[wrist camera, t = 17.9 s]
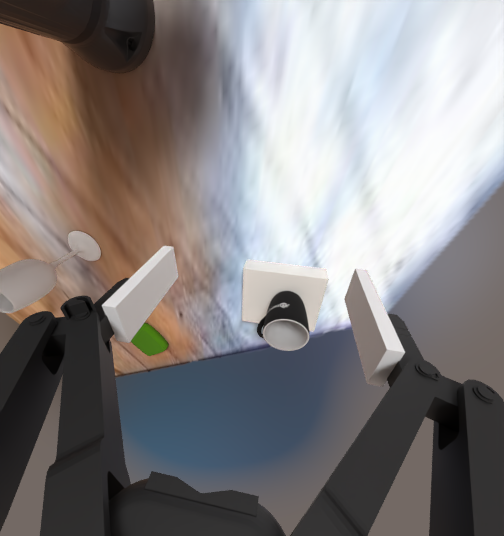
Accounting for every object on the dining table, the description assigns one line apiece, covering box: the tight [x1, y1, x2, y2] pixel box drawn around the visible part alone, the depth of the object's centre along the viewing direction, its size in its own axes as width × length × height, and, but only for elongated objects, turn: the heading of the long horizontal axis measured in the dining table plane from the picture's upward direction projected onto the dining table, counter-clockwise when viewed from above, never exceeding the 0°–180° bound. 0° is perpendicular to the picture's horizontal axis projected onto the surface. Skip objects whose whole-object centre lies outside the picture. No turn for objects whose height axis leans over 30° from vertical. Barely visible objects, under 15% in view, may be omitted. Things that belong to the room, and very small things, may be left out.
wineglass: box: [0, 231, 101, 313], centre depth 50 cm, size 9×9×21 cm
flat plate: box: [242, 259, 328, 332], centre depth 55 cm, size 18×16×4 cm
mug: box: [257, 291, 309, 351], centre depth 49 cm, size 12×9×10 cm
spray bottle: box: [131, 323, 169, 356], centre depth 72 cm, size 3×11×24 cm
